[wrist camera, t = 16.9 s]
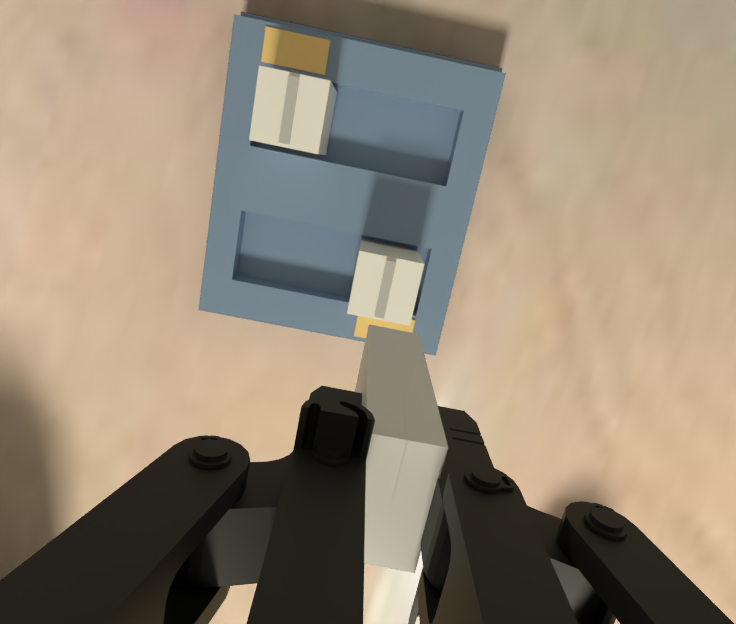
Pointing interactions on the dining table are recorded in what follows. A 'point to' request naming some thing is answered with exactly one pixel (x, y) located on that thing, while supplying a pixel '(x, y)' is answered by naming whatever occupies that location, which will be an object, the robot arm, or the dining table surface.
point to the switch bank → (344, 179)
